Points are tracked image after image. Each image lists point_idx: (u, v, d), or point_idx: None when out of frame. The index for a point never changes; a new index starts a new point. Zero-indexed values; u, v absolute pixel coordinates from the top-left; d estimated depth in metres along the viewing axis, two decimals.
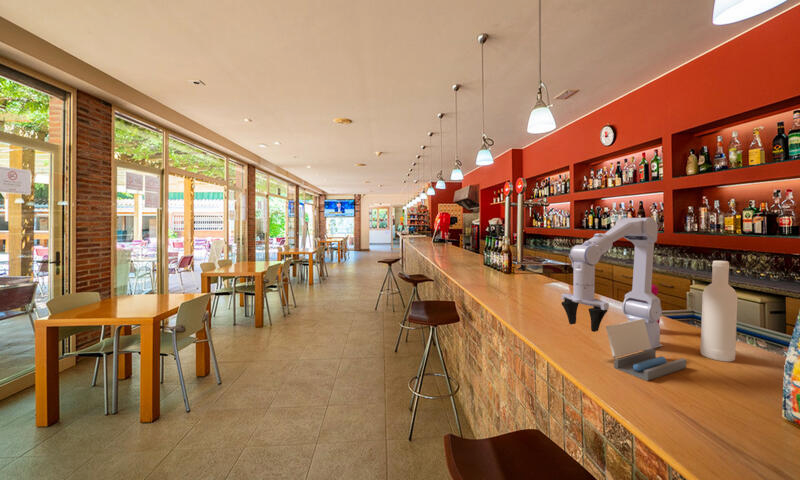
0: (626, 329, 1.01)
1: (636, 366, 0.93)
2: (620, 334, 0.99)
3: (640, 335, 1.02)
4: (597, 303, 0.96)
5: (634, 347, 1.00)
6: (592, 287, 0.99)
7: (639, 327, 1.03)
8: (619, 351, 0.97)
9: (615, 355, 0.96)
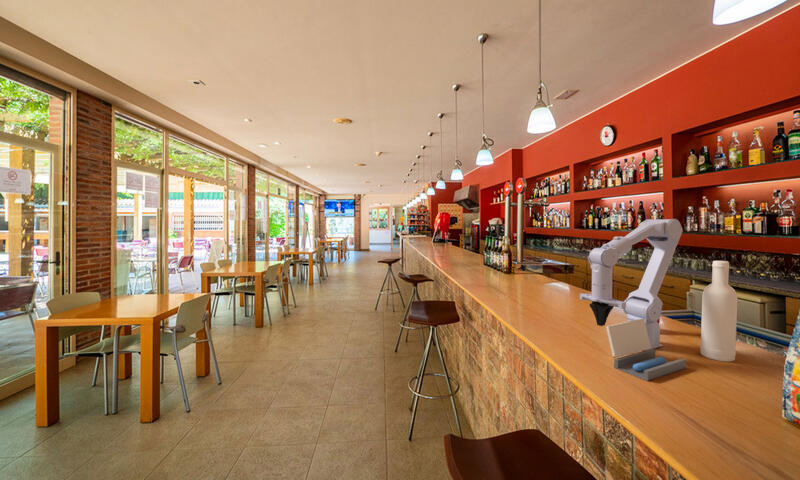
0: (626, 329, 1.01)
1: (636, 366, 0.93)
2: (620, 334, 0.99)
3: (640, 335, 1.02)
4: (615, 302, 1.03)
5: (634, 347, 1.00)
6: (610, 288, 1.06)
7: (639, 327, 1.03)
8: (619, 351, 0.97)
9: (615, 355, 0.96)
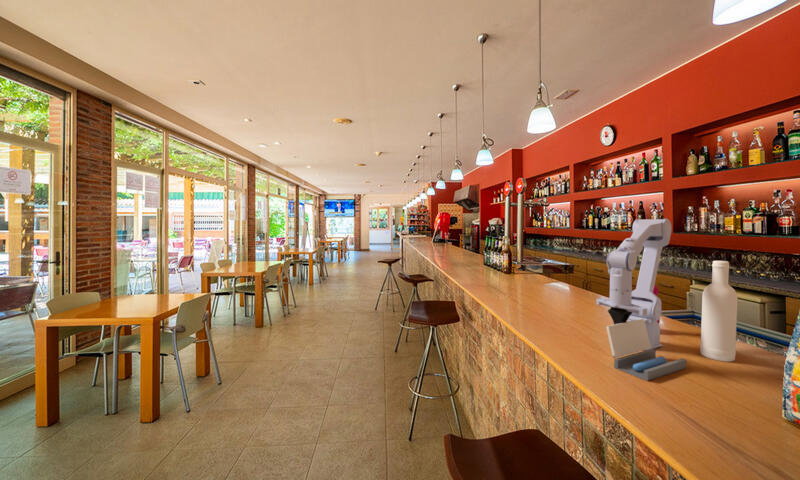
0: (627, 329, 1.01)
1: (636, 366, 0.93)
2: (620, 334, 0.99)
3: (640, 335, 1.02)
4: (635, 308, 0.97)
5: (634, 347, 1.00)
6: (630, 293, 1.00)
7: (639, 327, 1.03)
8: (619, 351, 0.97)
9: (615, 355, 0.96)
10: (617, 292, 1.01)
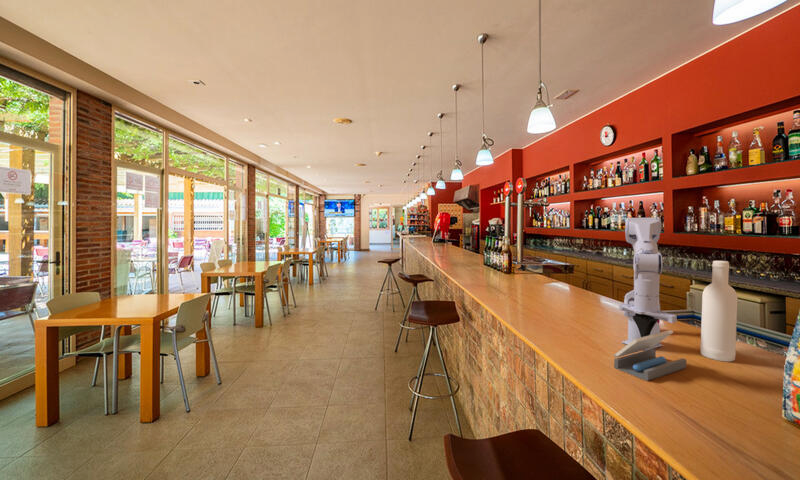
0: (649, 341, 0.95)
1: (636, 366, 0.93)
2: (639, 344, 0.94)
3: (654, 342, 0.99)
4: (664, 316, 0.91)
5: (638, 349, 0.99)
6: (657, 298, 0.93)
7: (661, 338, 0.97)
8: (623, 354, 0.96)
9: (617, 356, 0.96)
10: (643, 298, 0.94)
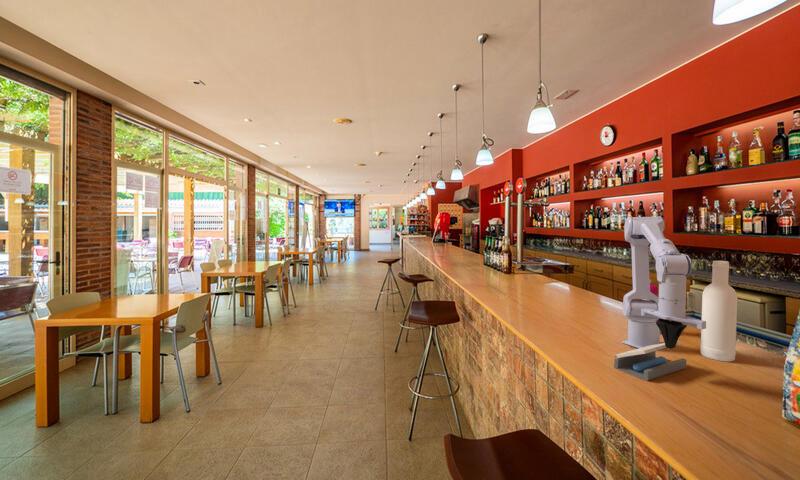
0: None
1: (636, 366, 0.93)
2: None
3: None
4: (692, 321, 0.85)
5: None
6: (684, 303, 0.87)
7: None
8: None
9: (617, 357, 0.96)
10: (669, 302, 0.88)
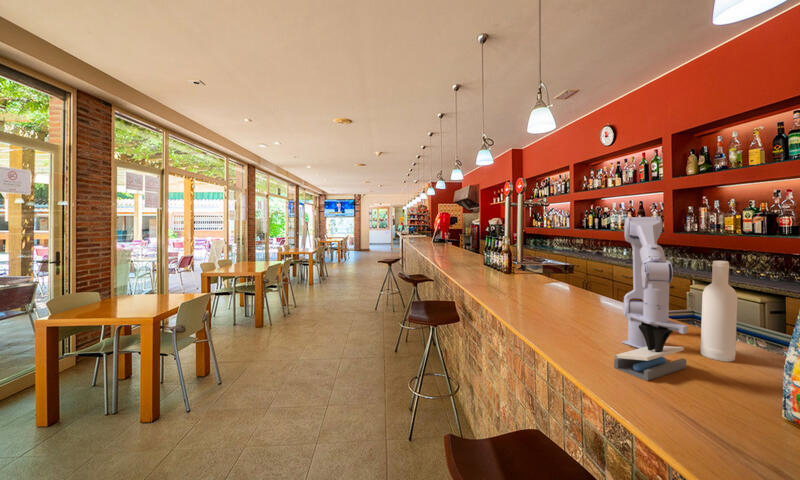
0: None
1: (636, 366, 0.93)
2: None
3: None
4: (674, 326, 0.88)
5: None
6: (667, 308, 0.91)
7: None
8: None
9: (617, 357, 0.96)
10: (653, 307, 0.92)
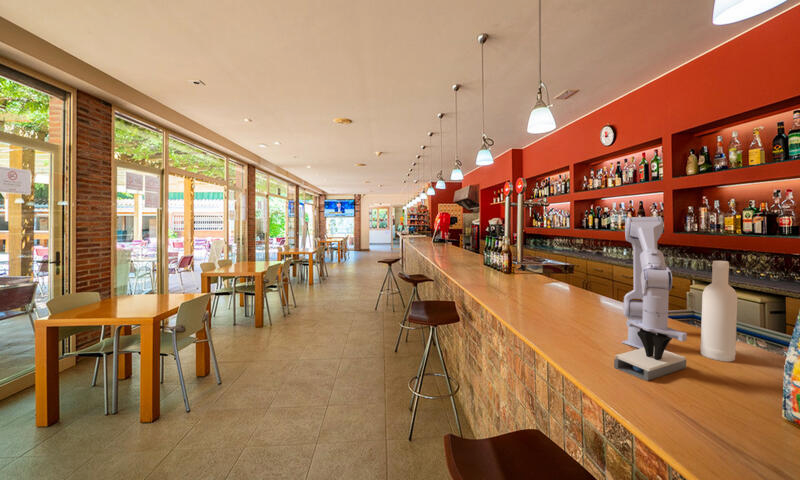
0: None
1: (636, 366, 0.93)
2: None
3: None
4: (674, 333, 0.89)
5: None
6: (666, 315, 0.91)
7: None
8: None
9: (617, 358, 0.96)
10: (652, 314, 0.92)
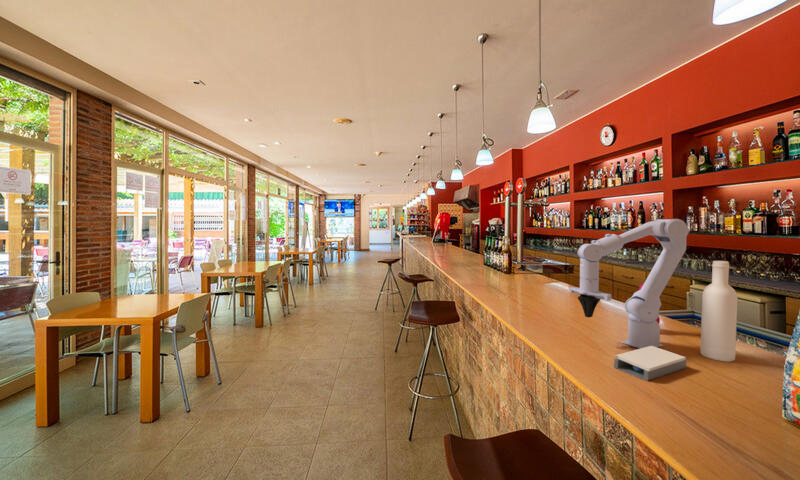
0: None
1: (636, 366, 0.93)
2: None
3: None
4: (601, 295, 1.09)
5: None
6: (597, 281, 1.12)
7: None
8: None
9: (617, 358, 0.96)
10: (586, 280, 1.13)
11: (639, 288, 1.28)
